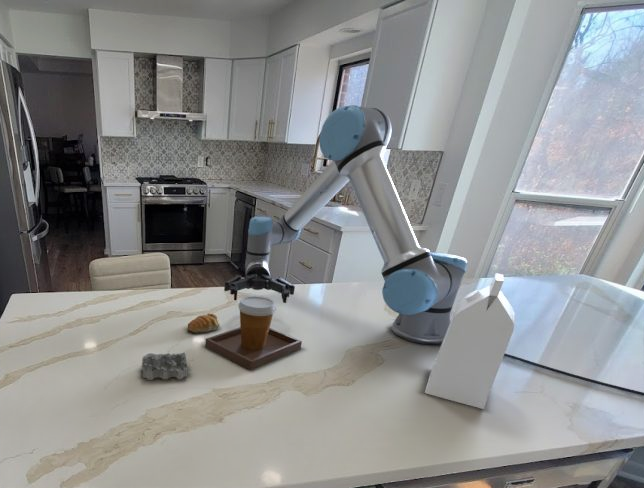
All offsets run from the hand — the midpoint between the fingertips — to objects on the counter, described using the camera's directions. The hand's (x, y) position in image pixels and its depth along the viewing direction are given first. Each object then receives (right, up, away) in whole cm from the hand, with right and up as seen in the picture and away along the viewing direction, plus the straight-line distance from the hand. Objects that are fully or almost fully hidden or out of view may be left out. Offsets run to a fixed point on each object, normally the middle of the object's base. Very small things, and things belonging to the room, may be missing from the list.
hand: (260, 297), depth 118 cm
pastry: (-15, -8, +7) cm, 19 cm away
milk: (+42, -25, -19) cm, 52 cm away
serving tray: (-2, -14, -3) cm, 15 cm away
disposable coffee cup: (-3, -14, -3) cm, 14 cm away
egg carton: (-25, -21, -16) cm, 37 cm away
